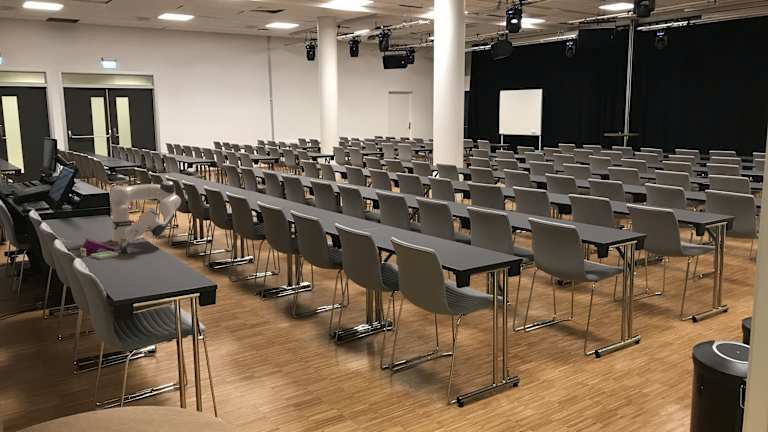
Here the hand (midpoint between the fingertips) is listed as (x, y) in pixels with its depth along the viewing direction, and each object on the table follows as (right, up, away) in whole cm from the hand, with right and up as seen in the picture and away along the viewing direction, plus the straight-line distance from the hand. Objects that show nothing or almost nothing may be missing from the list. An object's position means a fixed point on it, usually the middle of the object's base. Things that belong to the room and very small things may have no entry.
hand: (122, 244), depth 419 cm
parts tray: (-7, -7, -10) cm, 15 cm away
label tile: (-22, -7, -8) cm, 24 cm away
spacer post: (+1, -5, +1) cm, 5 cm away
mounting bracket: (-16, -6, +2) cm, 17 cm away
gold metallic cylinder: (-5, -3, +13) cm, 15 cm away
